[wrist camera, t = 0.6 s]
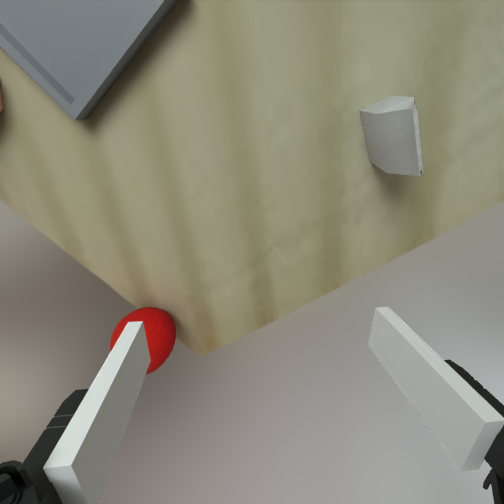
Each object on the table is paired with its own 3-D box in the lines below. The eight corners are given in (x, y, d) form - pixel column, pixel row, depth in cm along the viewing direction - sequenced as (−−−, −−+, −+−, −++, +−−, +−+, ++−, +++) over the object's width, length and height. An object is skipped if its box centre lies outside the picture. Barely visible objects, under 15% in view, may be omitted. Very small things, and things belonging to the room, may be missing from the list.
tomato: (158, 339, 59) (134, 393, 48) (118, 309, 54) (82, 363, 43) (196, 320, 54) (178, 375, 44) (156, 286, 50) (126, 339, 39)
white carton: (369, 161, 34) (401, 184, 26) (359, 110, 31) (392, 117, 23) (398, 149, 33) (440, 169, 25) (390, 95, 30) (436, 97, 22)
